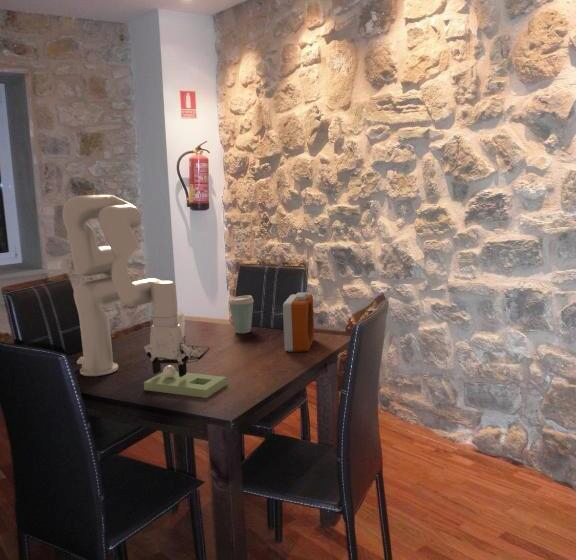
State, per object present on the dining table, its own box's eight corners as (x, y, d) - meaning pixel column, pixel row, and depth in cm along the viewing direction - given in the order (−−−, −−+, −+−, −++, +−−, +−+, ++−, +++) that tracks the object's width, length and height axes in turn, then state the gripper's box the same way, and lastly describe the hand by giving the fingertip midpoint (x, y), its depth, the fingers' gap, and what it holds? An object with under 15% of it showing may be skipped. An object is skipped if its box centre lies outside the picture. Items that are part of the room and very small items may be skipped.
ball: (160, 379, 183) (159, 366, 182) (168, 375, 186) (167, 363, 186) (171, 380, 181) (170, 368, 180) (178, 376, 185) (177, 364, 184)
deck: (144, 389, 181) (143, 382, 181) (167, 377, 192) (166, 370, 191) (206, 398, 172) (206, 389, 171) (226, 384, 183) (226, 377, 182)
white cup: (180, 340, 239) (178, 316, 237) (163, 339, 241) (161, 315, 239) (189, 335, 246) (187, 311, 244) (172, 334, 248) (170, 311, 247)
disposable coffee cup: (231, 335, 242) (229, 300, 239) (229, 329, 252) (227, 295, 250) (257, 333, 244) (255, 298, 241) (253, 327, 254) (251, 293, 252)
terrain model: (196, 364, 207) (195, 355, 207) (155, 364, 209) (154, 355, 209) (212, 348, 227) (211, 340, 226) (174, 348, 229) (174, 340, 229)
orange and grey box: (308, 352, 213) (306, 297, 210) (284, 352, 215) (282, 297, 211) (314, 339, 231) (312, 288, 228) (292, 339, 233) (290, 288, 229)
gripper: (135, 322, 181) (139, 375, 184) (182, 325, 174) (186, 380, 177) (150, 316, 188) (154, 368, 190) (196, 319, 181) (199, 372, 183)
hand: (169, 374), depth 184 cm, fingers open, 9 cm apart
